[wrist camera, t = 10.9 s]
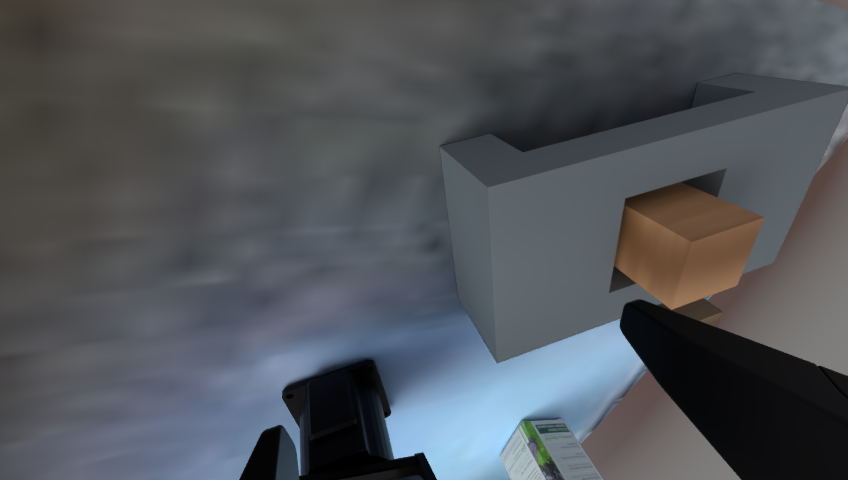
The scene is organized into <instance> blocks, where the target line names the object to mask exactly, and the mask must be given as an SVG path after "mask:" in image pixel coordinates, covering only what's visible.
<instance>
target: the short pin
mask: <svg viewBox="0 0 848 480" xmlns="http://www.w3.org/2000/svg"><path fill="white" fill-rule="evenodd" d="M658 306H661V307H664V308H666V309H669V310H671V309H670V308H668V307H667V306H666V305H664V304H663V303H661V304H659V305H658ZM672 311H674V312H677V313H680V314H683V315H685V316H688V317H691V318H693V319H696V320H699V321H701V322H704V323H707V324H709V325H712V326H715V327H717V325H718V323H719V320H720V318H721V316H722V313H723V311H721V310H720V309H718V308H717V307H716V306H714V305H712V304H711V303H710V302H708V301H707V300H705V299H704V298H702V299H699V300H697V301H694V302H691V303H688V304H686V305H683V306H680V307H678V308H675V309H672Z"/></svg>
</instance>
